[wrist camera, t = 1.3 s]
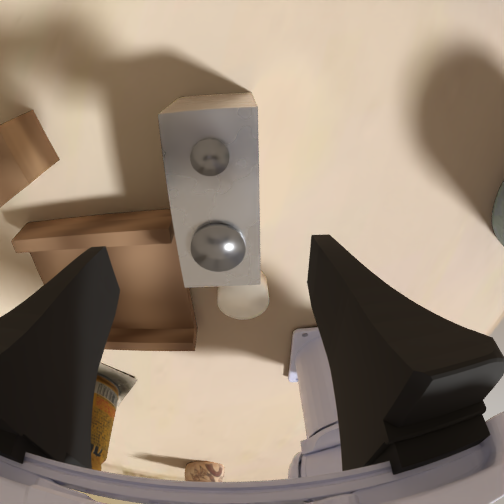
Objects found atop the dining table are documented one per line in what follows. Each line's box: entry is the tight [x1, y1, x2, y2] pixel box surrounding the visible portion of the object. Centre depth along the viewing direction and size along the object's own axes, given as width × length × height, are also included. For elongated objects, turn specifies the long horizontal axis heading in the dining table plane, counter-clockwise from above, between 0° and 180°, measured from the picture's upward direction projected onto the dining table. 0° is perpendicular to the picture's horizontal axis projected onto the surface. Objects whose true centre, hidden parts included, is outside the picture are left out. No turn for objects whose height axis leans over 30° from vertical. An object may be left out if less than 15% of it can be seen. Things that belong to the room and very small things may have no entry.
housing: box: [158, 92, 261, 288], centre depth 17 cm, size 4×9×6 cm, turn 2°
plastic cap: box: [217, 270, 269, 320], centre depth 23 cm, size 4×4×2 cm
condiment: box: [91, 362, 137, 471], centre depth 27 cm, size 7×8×12 cm
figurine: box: [185, 461, 225, 482], centre depth 44 cm, size 7×7×12 cm
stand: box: [11, 209, 197, 351], centre depth 22 cm, size 12×11×2 cm
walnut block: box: [0, 110, 60, 207], centre depth 15 cm, size 4×4×4 cm
